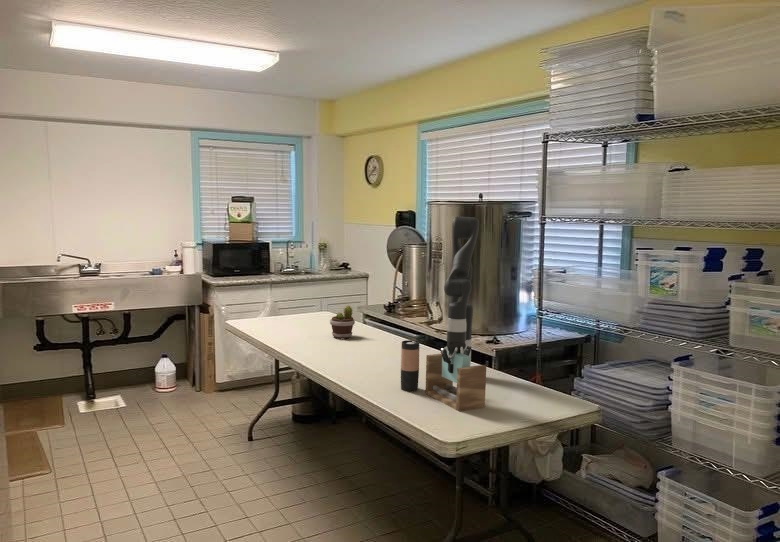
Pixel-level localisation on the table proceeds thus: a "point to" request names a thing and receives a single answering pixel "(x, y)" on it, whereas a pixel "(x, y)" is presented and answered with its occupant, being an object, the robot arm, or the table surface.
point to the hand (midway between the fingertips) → (455, 372)
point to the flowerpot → (343, 324)
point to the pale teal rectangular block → (455, 366)
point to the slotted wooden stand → (468, 385)
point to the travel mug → (409, 365)
